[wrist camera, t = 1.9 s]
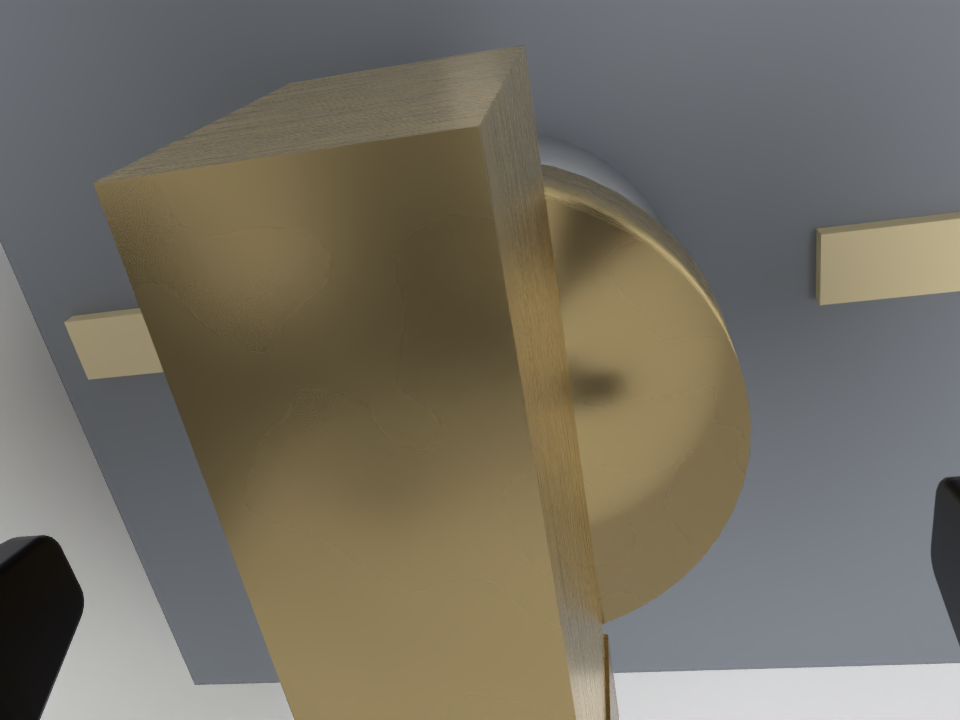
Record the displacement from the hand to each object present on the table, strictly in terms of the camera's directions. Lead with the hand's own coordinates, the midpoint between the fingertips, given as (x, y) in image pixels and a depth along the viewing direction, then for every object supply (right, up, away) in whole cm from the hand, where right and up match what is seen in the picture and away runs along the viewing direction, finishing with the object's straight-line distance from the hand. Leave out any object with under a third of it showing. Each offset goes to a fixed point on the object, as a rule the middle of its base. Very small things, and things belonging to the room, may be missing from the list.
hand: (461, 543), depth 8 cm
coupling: (0, +1, +3) cm, 3 cm away
